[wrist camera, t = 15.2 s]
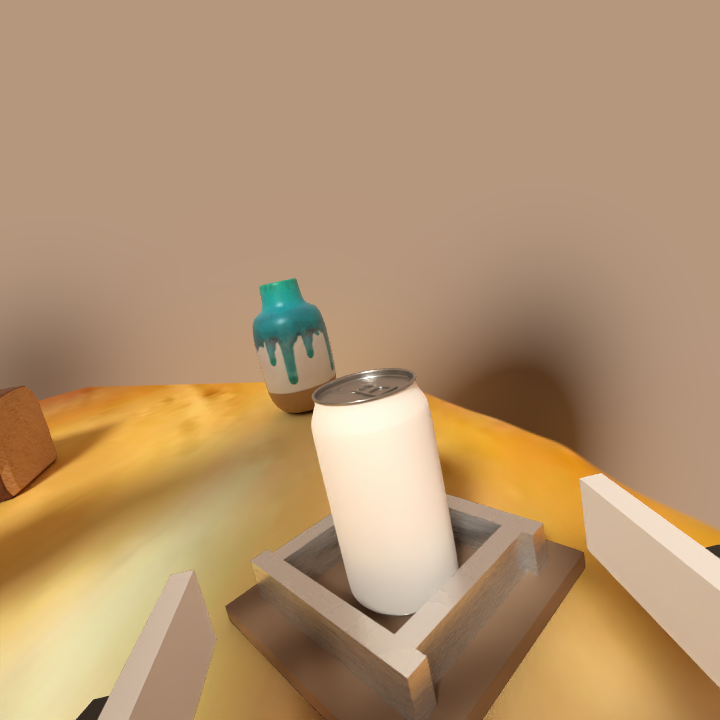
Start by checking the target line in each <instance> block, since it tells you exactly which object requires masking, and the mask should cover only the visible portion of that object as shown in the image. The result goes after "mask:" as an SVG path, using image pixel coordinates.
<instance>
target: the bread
mask: <svg viewBox="0 0 720 720" xmlns="http://www.w3.org/2000/svg"><path fill="white" fill-rule="evenodd" d="M56 458H57V454H56V451H55V448H54V445H53V442H52V438H51V435H50V432H49V429H48V426H47V423H46V421H45V418H44V416H43V413H42V410H41V407H40V404H39V402H38V400H37V398H36V397H35V395H34V393H33V392H32V391H31V390H29V389H28V388H27V387H25V386H19V387H13V388H7V389H1V390H0V502H2V501H5V500H8V499H12V498H13V497H15V496H16V495H17V494H18V493H20V492H21V491H22V490H23V489H24V488H25V487H26V486H27V485H28V484H29V483H30V482H32V481H33V480H34V479H35V478H36V477H37V476H38V475H39V474H40V473H42V472H43V471H44V470H45V469H46V468H47V467H48V466H49V465H51V464H52V463H53V462H54V461H55V459H56Z"/></svg>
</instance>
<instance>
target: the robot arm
mask: <svg viewBox="0 0 720 720" xmlns="http://www.w3.org/2000/svg"><path fill="white" fill-rule="evenodd" d="M580 487H581V496H582V505H583V514H584V523H585V532H586V541H587V549H588V550H589V552H590V553H591V554H592V555H593V556H594V557H595V558H596V559H597V560H598V561H599V562H600V563H601V564H602V565H603V566H604V567H605V568H606V569H607V570H608V571H609V572H610V574H611V575H612V576H613V577H614V578H615V579H616V580H617V581H618V582H619V583H620V584H621V585H622V586H623V587H624V588H625V589H626V590H627V591H628V592H629V593H630V594H631V596H632V597H633V598H634V599H635V600H636V601H637V602H638V603H639V604H640V605H641V606H642V607H643V608H644V609H645V610H646V611H647V612H648V613H649V614H650V615H651V616H652V618H653V619H654V620H655V621H656V622H657V623H658V624H659V625H660V626H661V627H662V628H663V629H664V630H665V631H666V632H667V633H668V634H669V635H670V636H671V637H672V638H673V640H674V641H675V642H676V643H677V644H678V645H679V646H680V647H681V648H682V649H683V650H684V651H685V652H686V653H687V654H688V655H689V656H690V657H691V658H692V659H693V660H694V662H695V663H696V664H697V665H698V666H699V667H700V668H701V669H702V670H703V671H704V672H705V673H706V674H707V675H708V676H709V677H710V678H711V679H712V680H713V681H714V682H715V684H716V685H717V686H718V687H719V688H720V545H715V546H711V547H707V548H704V547H703V546H701V545H700V544H699V543H697V542H696V541H694V540H693V539H692V538H690V537H689V536H688V535H686V534H685V533H683V532H682V531H681V530H679V529H678V528H676V527H675V526H674V525H672V524H671V523H669V522H668V521H667V520H665V519H664V518H663V517H661V516H660V515H658V514H657V513H656V512H654V511H653V510H651V509H650V508H649V507H647V506H646V505H645V504H643V503H642V502H640V501H639V500H638V499H636V498H635V497H633V496H632V495H631V494H629V493H628V492H627V491H625V490H624V489H622V488H621V487H620V486H618V485H617V484H615V483H614V482H613V481H611V480H610V479H609V478H607V477H606V476H604V475H603V474H602V473H600V474H596V475H592V476H587V477H583V478H580ZM216 640H217V639H216V636H215V633H214V630H213V627H212V624H211V621H210V618H209V614H208V611H207V608H206V605H205V602H204V599H203V596H202V593H201V590H200V587H199V584H198V581H197V578H196V575H195V572H194V570H190V571H186V572H182V573H177V574H173V575H170V577H169V579H168V581H167V583H166V585H165V587H164V589H163V591H162V593H161V595H160V597H159V599H158V601H157V603H156V605H155V607H154V609H153V611H152V613H151V615H150V617H149V619H148V621H147V623H146V625H145V627H144V629H143V631H142V633H141V634H140V636H139V638H138V640H137V642H136V644H135V646H134V648H133V650H132V652H131V654H130V656H129V658H128V660H127V662H126V664H125V666H124V668H123V670H122V672H121V674H120V676H119V678H118V680H117V682H116V684H115V686H114V688H113V690H112V692H111V694H110V696H106V697H102V698H98V699H94V700H93V701H92V702H91V703H90V704H89V705H88V706H87V708H86V709H85V710H84V711H83V712H82V713H81V714H80V716H79V717H78V718H77V719H76V720H194V716H195V713H196V709H197V706H198V702H199V699H200V696H201V692H202V689H203V685H204V682H205V678H206V675H207V671H208V668H209V665H210V661H211V658H212V654H213V651H214V647H215V644H216Z"/></svg>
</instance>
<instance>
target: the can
mask: <svg viewBox="0 0 720 720" xmlns="http://www.w3.org/2000/svg"><path fill="white" fill-rule="evenodd" d="M415 380H416V375H415V373H414V372H413V371H411V370H407V369H401V368H387V369H386V368H385V369H375V370H369V371H363V372H359V373H354V374H351V375H347V376H344V377H341V378H338V379H335V380H332V381H330V382H328V383H326V384H324V385H322V386H320V387H319V388H317V389H316V390H315V391H314V392H313V394H312V400H313V401H314V402H315V407H314V411H313V416H312V421H311V428H312V434H313V438H314V443H315V447H316V451H317V456H318V460H319V464H320V468H321V472H322V476H323V481H324V485H325V489H326V493H327V497H328V501H329V505H330V509H331V513H332V517H333V522H334V526H335V530H336V534H337V538H338V542H339V546H340V550H341V554H342V558H343V562H344V566H345V570H346V574H347V578H348V581H349V585H350V588H351V591H352V593H353V595H354V597H355V598H356V599H357V601H358V602H359V603H361V604H362V605H363V606H365V607H366V608H368V609H370V610H372V611H374V612H376V613H379V614H382V615H386V616H393V617H403V616H411V615H414V614H415V613H416V612H417V611H418V610H419V609H420V608H421V607H422V606H423V605H424V604H425V603H426V602H427V601H428V600H429V599H430V598H431V597H432V596H433V595H434V594H435V593H436V592H437V591H438V590H439V589H440V588H441V587H442V586H443V585H444V584H445V583H446V582H447V581H448V580H449V579H450V578H451V577H452V575H453V574H454V573H455V572H456V571H457V570H458V569H459V568H458V560H457V553H456V547H455V542H454V536H453V530H452V525H451V519H450V514H449V508H448V503H447V497H446V491H445V486H444V481H443V475H442V470H441V464H440V459H439V453H438V448H437V443H436V437H435V432H434V427H433V421H432V416H431V411H430V407H429V403H428V400H427V398H426V396H425V395H424V393H423V392H422V391H421V390H420V388H419V387H418V385H417V384H416V382H415Z"/></svg>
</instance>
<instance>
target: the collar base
mask: <svg viewBox="0 0 720 720" xmlns="http://www.w3.org/2000/svg"><path fill="white" fill-rule="evenodd" d="M545 541H546V549H547V556H548V564H547V565H546V567H545V568H544V569H543V570H542V572H541V573H540V574H539V576H538V575H536V574H533V573H531V572H527V573H526V574H525V576H524V577H523V578H522V579H521V581H520V582H519V583H518V584H517V586H516V587H515V588H514V589H513V590H512V592H511V593H510V594H509V595H508V597H507V598H506V599H505V600H504V602H503V603H502V604H501V605H500V607H499V608H498V609H497V610H496V611H495V613H494V614H493V615H492V616H491V618H490V619H489V620H488V621H487V623H486V624H485V625H484V626H483V628H482V629H481V630H480V631H479V632H478V634H477V635H476V636H475V637H474V639H473V640H472V641H471V642H470V644H469V645H468V646H467V647H466V648H465V650H464V651H463V652H462V653H461V655H460V656H459V657H458V658H457V660H456V661H455V662H454V663H453V665H452V666H451V667H450V668H449V669H448V671H447V672H446V673H445V674H444V676H443V677H442V678H441V679H440V681H439V682H438V683H437V684H436V686H435V687H434V693H435V698H436V702H437V707H436V708H435V709H434V711H433V712H432V713H431V715H430V716H429V717H428V718H427V720H482V719H483V718H484V716H485V715H486V713H487V712H488V710H489V709H490V707H491V706H492V704H493V703H494V701H495V700H496V698H497V697H498V695H499V694H500V692H501V691H502V690H503V688H504V687H505V685H506V684H507V682H508V681H509V679H510V678H511V676H512V675H513V673H514V672H515V670H516V669H517V667H518V666H519V664H520V663H521V662H522V660H523V659H524V657H525V656H526V654H527V653H528V651H529V650H530V648H531V647H532V645H533V644H534V642H535V641H536V639H537V638H538V636H539V635H540V633H541V632H542V631H543V629H544V628H545V626H546V625H547V623H548V622H549V620H550V619H551V617H552V616H553V614H554V613H555V611H556V610H557V608H558V607H559V605H560V604H561V603H562V601H563V600H564V598H565V597H566V595H567V594H568V592H569V591H570V589H571V588H572V586H573V585H574V583H575V582H576V580H577V579H578V577H579V576H580V574H581V573H582V572H583V570H584V569H585V560H584V552H582V551H579V550H576V549H573V548H570V547H567V546H564V545H561V544H558V543H555V542H552V541H549V540H546V539H545ZM455 547H456V553H457V560H458V568H460V567H461V566H462V565H463V564H464V563H465V562H466V561H467V560H468V559H469V558H470V557H471V556H472V555H473V554H474V553H475V552H476V551H475V550H473V549H470V548H468V547H465V546H463V545H460V544H458V543H455ZM314 581H315V582H317V583H318V584H320V585H321V586H323V587H324V588H326V589H327V590H329V591H330V592H332V593H333V594H335V595H336V596H338V597H339V598H341V599H342V600H344V601H345V602H347V603H348V604H350V605H351V606H353V607H354V608H356V609H357V610H359V611H360V612H362V613H363V614H365V615H366V616H367V617H369V618H370V619H372V620H373V621H375V622H376V623H378V624H379V625H381V626H382V627H384V628H385V629H387V630H388V631H390V632H391V633H393V634H395V633H396V632H397V631H398V630H399V629H400V628H401V627H402V626H403V625H404V624H405V623H406V622H407V621H408V620H409V619H410V618H411V617H412V616H413V615H411V616H403V617H393V616H386V615H382V614H379V613H376V612H374V611H372V610H370V609H368V608H366V607H365V606H363V605H362V604H361V603H359V602H358V601H357V599H356V598H355V597H354V595H353V593H352V591H351V588H350V585H349V581H348V578H347V574H346V570H345V566H344V562H343V558H342V559H341V560H339V561H338V562H337V563H336V564H334V565H333V566H332V567H330V568H329V569H328V570H326V571H325V572H324V573H323V574H321V575H320V576H319V577H317V578H316V579H315V580H314ZM225 607H226V610H227V613H228V617H229V620H230V621H231V622H232V623H233V624H234V625H235V626H236V627H237V628H238V629H239V630H240V631H241V633H242V634H243V635H244V636H245V637H246V638H247V639H248V640H249V641H250V642H251V643H252V644H253V645H254V646H255V647H256V648H257V649H258V650H259V651H260V652H261V653H262V654H263V655H264V656H265V657H266V658H267V660H268V661H269V662H270V663H271V664H272V665H273V666H274V667H275V668H276V669H277V670H278V671H279V672H280V673H281V674H282V675H283V676H284V677H285V678H286V679H287V680H288V681H289V682H290V683H291V684H292V685H293V687H294V688H295V689H296V690H297V691H298V692H299V693H300V694H301V695H302V696H303V697H304V698H305V699H306V700H307V701H308V702H309V703H310V704H311V705H312V706H313V707H314V708H315V709H316V710H317V711H318V713H319V714H320V715H321V716H322V717H323V718H324V719H325V720H407V719H406V718H404V717H403V716H402V715H401V714H400V713H399V712H397V711H396V710H395V709H394V708H393V707H391V706H390V705H389V704H388V703H387V702H386V701H384V700H383V699H382V698H381V697H380V696H378V695H377V694H376V693H375V692H374V691H372V690H371V689H370V688H369V687H368V686H367V685H365V684H364V683H363V682H362V681H361V680H359V679H358V678H357V677H356V676H355V675H354V674H352V673H351V672H350V671H349V670H348V669H346V668H345V667H344V666H343V665H342V664H341V663H339V662H338V661H337V660H336V659H335V658H333V657H332V656H331V655H330V654H329V653H328V652H326V651H325V650H324V649H323V648H322V647H320V646H319V645H318V644H317V643H316V642H315V641H313V640H312V639H311V638H310V637H309V636H307V635H306V634H305V633H304V632H303V631H302V630H300V629H299V628H298V627H297V626H296V625H294V624H293V623H292V622H291V621H290V620H289V619H287V618H286V617H285V616H284V615H283V614H281V613H280V612H279V611H278V610H277V609H276V608H274V607H273V606H272V605H271V604H270V603H268V602H267V601H266V600H265V599H264V598H263V597H261V595H260V592H259V588H258V585H257V584H256V585H255V586H254V587H252V588H251V589H249V590H248V591H246V592H245V593H244V594H242V595H241V596H239V597H238V598H236V599H235V600H234V601H232V602H231V603H229V604H228V605H227V606H225Z"/></svg>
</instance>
